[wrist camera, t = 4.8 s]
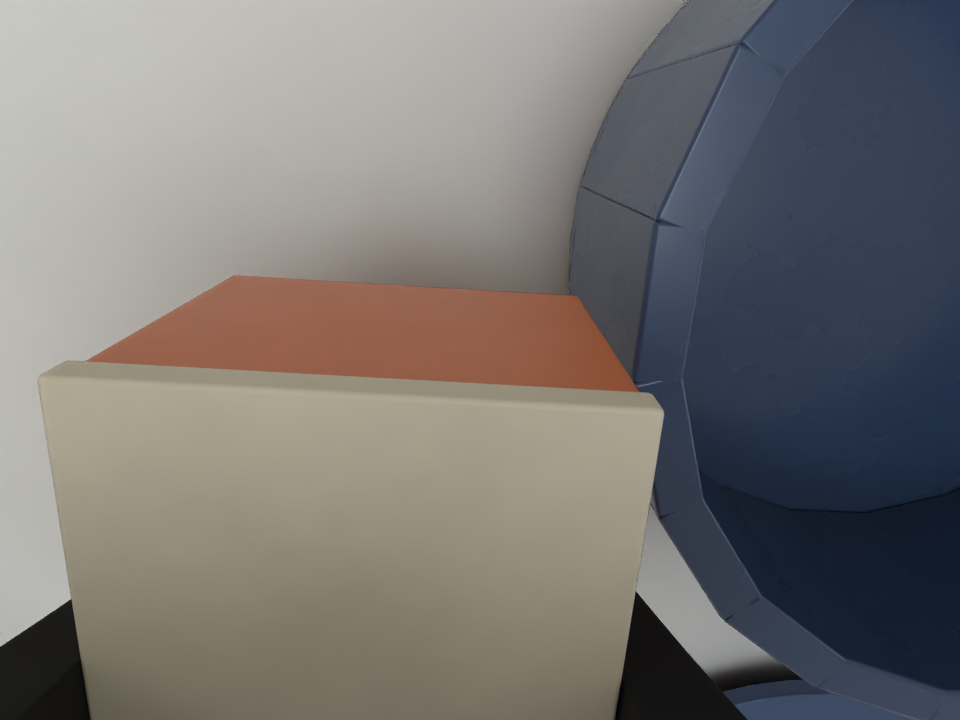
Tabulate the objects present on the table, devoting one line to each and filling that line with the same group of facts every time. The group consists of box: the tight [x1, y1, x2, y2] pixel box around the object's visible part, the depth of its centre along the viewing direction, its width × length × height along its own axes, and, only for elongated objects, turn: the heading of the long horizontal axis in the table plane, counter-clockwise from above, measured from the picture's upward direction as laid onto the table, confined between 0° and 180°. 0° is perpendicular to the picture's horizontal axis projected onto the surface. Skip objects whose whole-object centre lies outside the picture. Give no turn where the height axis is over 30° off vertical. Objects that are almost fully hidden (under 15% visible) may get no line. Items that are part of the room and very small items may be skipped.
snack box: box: [38, 276, 664, 720], centre depth 8 cm, size 5×8×4 cm, turn 176°
